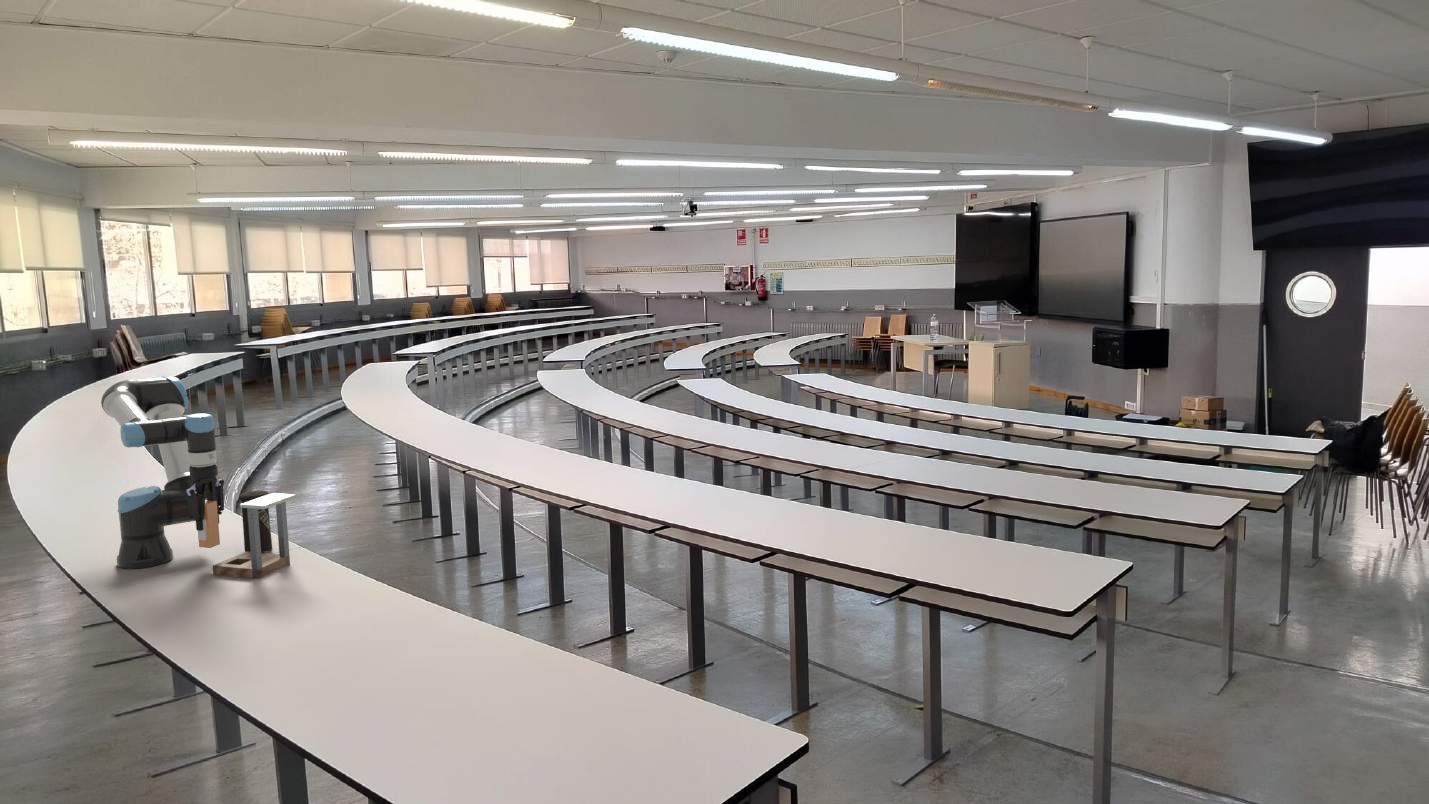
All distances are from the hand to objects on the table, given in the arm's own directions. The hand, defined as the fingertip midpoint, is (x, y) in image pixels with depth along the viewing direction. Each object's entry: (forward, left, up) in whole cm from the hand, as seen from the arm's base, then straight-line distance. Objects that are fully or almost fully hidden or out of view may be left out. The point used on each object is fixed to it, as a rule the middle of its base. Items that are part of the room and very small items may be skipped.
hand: (208, 537), depth 276 cm
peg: (0, 0, -3) cm, 3 cm away
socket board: (+14, +2, -10) cm, 17 cm away
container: (+2, +19, -10) cm, 21 cm away
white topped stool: (+21, +2, -10) cm, 24 cm away
